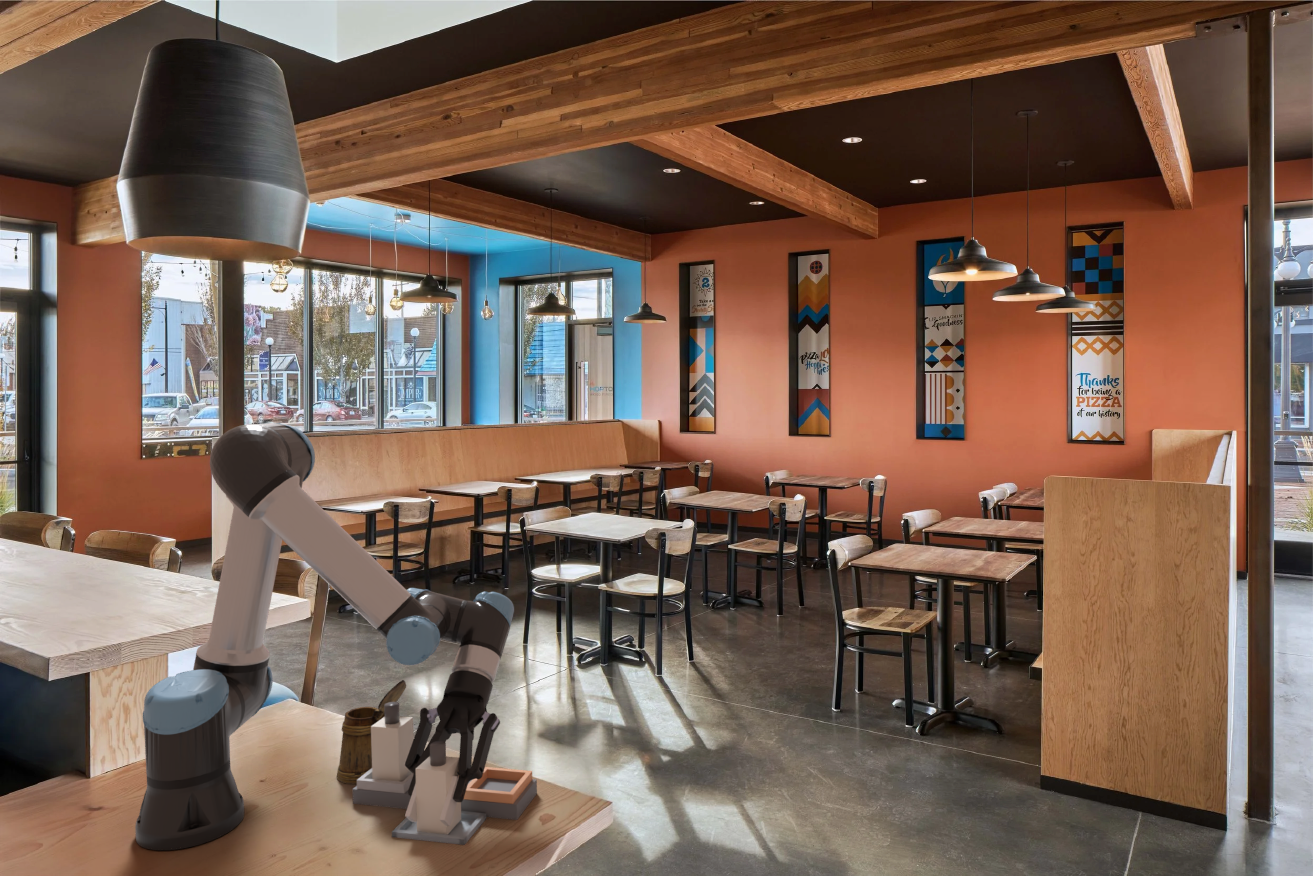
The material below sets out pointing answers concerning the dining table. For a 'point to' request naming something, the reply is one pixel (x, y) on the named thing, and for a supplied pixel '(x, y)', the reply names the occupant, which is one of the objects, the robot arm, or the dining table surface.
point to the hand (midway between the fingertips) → (427, 820)
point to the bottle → (435, 790)
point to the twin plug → (391, 744)
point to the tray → (456, 836)
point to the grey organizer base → (490, 794)
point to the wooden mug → (361, 737)
